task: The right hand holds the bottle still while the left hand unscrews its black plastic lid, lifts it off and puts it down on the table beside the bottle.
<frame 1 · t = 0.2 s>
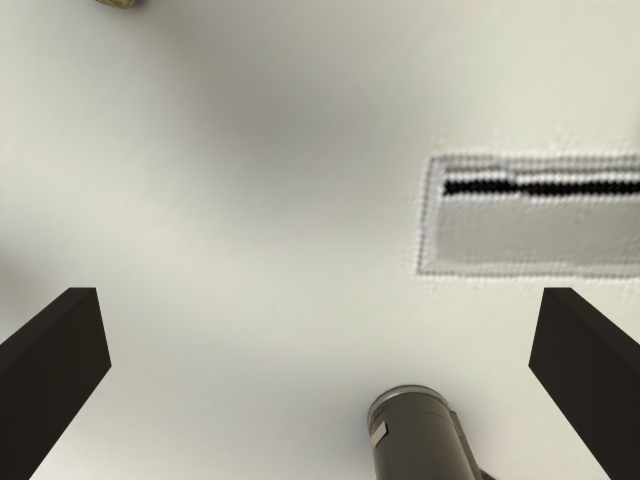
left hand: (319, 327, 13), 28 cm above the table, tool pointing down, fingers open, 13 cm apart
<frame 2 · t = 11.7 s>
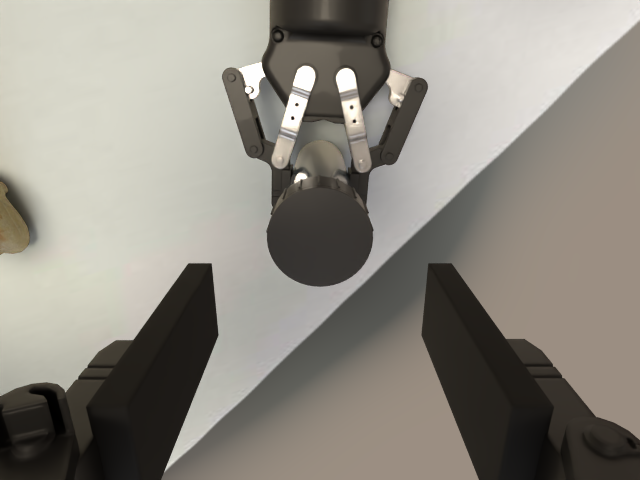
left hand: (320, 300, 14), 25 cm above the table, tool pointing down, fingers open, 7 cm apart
right hand: (318, 216, 32), fingers closed on bottle, 4 cm apart
lid: (319, 236, 20), point 19 cm above the table, screwed on, not yet turned
bottle: (320, 164, 38), on the table, touching right hand
sculpture: (3, 211, 39), on the table
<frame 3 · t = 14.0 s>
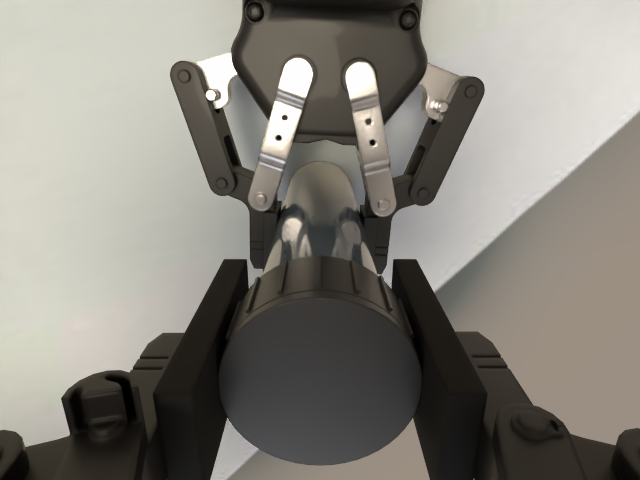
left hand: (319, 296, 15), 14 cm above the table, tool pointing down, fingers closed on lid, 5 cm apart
right hand: (318, 274, 23), fingers closed on bottle, 4 cm apart
lid: (320, 379, 11), point 19 cm above the table, screwed on, not yet turned, touching left hand
bottle: (320, 193, 28), on the table, touching right hand
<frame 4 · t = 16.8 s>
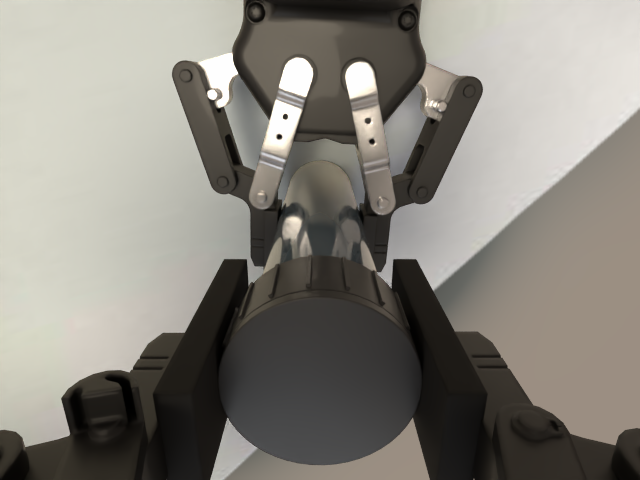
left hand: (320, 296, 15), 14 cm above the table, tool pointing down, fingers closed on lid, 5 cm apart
right hand: (318, 272, 23), fingers closed on bottle, 4 cm apart
lid: (320, 378, 11), point 19 cm above the table, turned 69° so far, risen 0.2 cm, still on its thread, touching left hand
bottle: (320, 191, 28), on the table, touching right hand
when the left hand's fingers open (0 cm above the table, at t = 24.2 s): lid drops 2 cm, point 2 cm above the table.
when the right hand's fingers open (7 cm above the table, at t = 24.7 s): bottle stays where it is, on the table.
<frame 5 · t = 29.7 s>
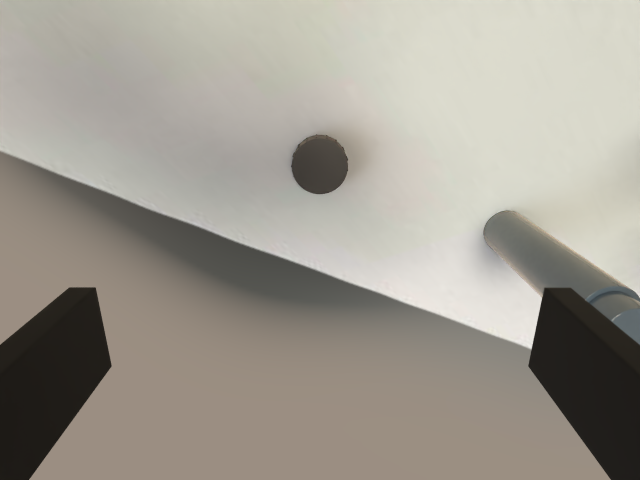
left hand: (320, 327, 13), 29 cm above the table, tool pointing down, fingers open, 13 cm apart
lid: (319, 166, 38), point 2 cm above the table, off its thread
bottle: (504, 230, 42), on the table
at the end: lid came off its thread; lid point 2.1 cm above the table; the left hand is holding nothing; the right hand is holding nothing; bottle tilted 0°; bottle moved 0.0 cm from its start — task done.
